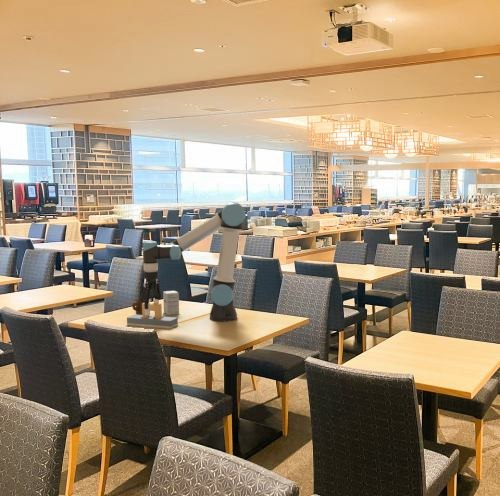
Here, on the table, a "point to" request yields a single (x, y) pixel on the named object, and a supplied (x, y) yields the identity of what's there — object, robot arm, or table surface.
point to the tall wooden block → (153, 307)
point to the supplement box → (171, 302)
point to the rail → (152, 321)
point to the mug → (138, 306)
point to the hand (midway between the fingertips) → (152, 313)
